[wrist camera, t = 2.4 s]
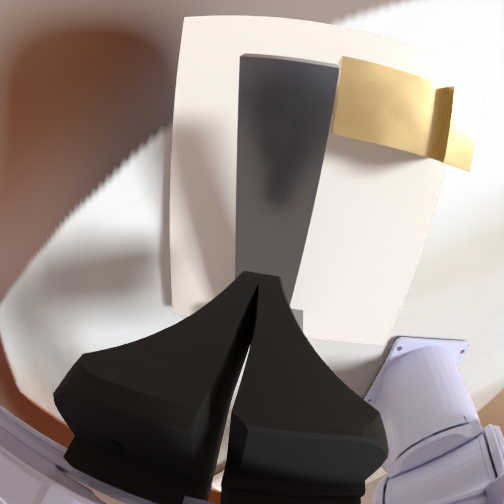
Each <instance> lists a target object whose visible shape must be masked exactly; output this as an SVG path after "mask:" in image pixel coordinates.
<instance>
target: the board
mask: <svg viewBox="0 0 504 504" xmlns="http://www.w3.org/2000/svg"><path fill="white" fill-rule="evenodd" d="M244 53H249V54H264V55H275V56H285V57H293V58H301V59H308V60H314V61H321V62H326V63H332V64H337V65H338V64H339V60H340V59H341V57H342V56H346V57H351V58H356V59H360V60H364V61H368V62H372V63H376V64H380V65H384V66H387V67H391V68H394V69H397V70H401V71H404V72H407V73H410V74H413V75H416V76H419V77H422V78H425V79H428V80H430V81H433V82H436V83H438V84H441V85H444V86H446V87H449V86H456V87H457V79H458V63H455V62H453V61H451V60H448V59H446V58H444V57H441V56H439V55H436V54H434V53H431V52H428V51H426V50H423V49H420V48H418V47H415V46H412V45H409V44H406V43H403V42H400V41H396V40H393V39H390V38H386V37H383V36H379V35H375V34H372V33H368V32H364V31H359V30H355V29H351V28H346V27H341V26H336V25H330V24H325V23H317V22H312V21H305V20H296V19H287V18H276V17H261V16H197V17H185V18H184V24H183V31H182V38H181V46H180V54H179V62H178V72H177V80H176V90H175V103H174V115H173V129H172V147H171V172H170V267H171V292H172V310H173V313H175V314H180V315H184V316H190V315H192V314H193V313H195V312H196V311H198V310H199V309H200V308H202V307H203V306H204V305H206V304H207V303H208V302H210V301H211V300H212V299H214V298H215V297H216V296H217V295H218V294H219V293H221V292H222V291H223V290H224V289H225V288H226V287H227V286H229V285H230V284H231V283H232V282H233V281H234V280H235V229H236V168H237V126H238V92H239V64H240V56H241V55H243V54H244ZM333 107H334V106H333ZM332 114H333V112H332ZM331 122H332V117H331ZM330 129H331V123H330V128H329V134H328V139H327V144H326V150H325V155H324V160H323V165H322V170H321V175H320V180H319V184H318V189H317V194H316V199H315V203H314V208H313V212H312V217H311V221H310V226H309V230H308V234H307V239H306V243H305V247H304V251H303V255H302V260H301V264H300V268H299V272H298V276H297V280H296V284H295V288H294V292H293V295H292V299H291V303H290V308H291V310H292V312H293V314H294V316H295V318H296V320H297V322H298V324H299V326H300V328H301V330H302V331H303V333H304V335H305V336H306V337H311V338H318V339H326V340H334V341H343V342H352V343H362V344H373V345H385V343H386V341H387V339H388V336H389V334H390V332H391V330H392V328H393V325H394V323H395V321H396V319H397V316H398V314H399V312H400V309H401V307H402V305H403V302H404V300H405V297H406V295H407V292H408V290H409V287H410V285H411V282H412V279H413V277H414V274H415V271H416V268H417V266H418V263H419V260H420V257H421V254H422V251H423V248H424V245H425V242H426V239H427V235H428V232H429V229H430V225H431V222H432V219H433V215H434V211H435V208H436V204H437V200H438V196H439V192H440V188H441V184H442V179H443V175H444V170H445V165H446V164H445V163H442V162H440V161H437V160H434V159H431V158H428V157H424V156H421V155H418V154H414V153H411V152H407V151H403V150H400V149H396V148H392V147H388V146H384V145H380V144H376V143H371V142H367V141H363V140H358V139H353V138H349V137H344V136H339V135H333V134H331V133H330Z"/></svg>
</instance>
